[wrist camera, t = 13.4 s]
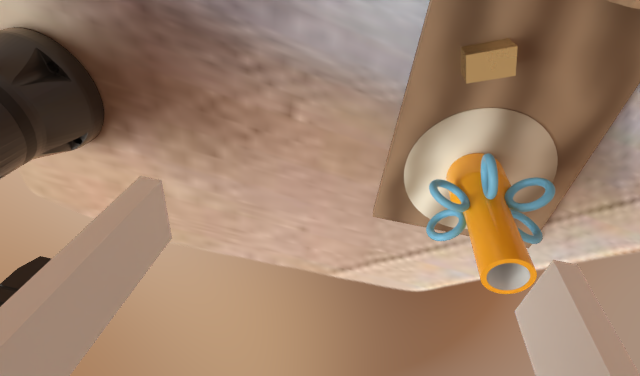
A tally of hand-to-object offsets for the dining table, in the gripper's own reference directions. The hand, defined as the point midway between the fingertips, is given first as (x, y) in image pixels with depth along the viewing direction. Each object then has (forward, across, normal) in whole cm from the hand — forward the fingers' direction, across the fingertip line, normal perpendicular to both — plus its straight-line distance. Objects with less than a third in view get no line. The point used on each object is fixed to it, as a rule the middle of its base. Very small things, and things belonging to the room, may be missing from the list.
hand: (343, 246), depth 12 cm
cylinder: (+27, +14, -11) cm, 33 cm away
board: (+29, +14, -6) cm, 32 cm away
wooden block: (+27, +10, +1) cm, 29 cm away
